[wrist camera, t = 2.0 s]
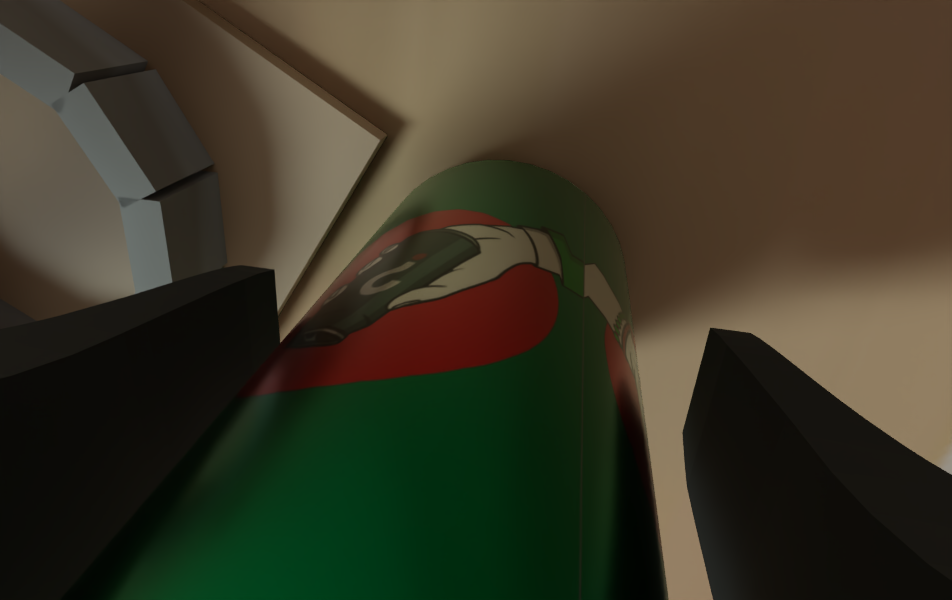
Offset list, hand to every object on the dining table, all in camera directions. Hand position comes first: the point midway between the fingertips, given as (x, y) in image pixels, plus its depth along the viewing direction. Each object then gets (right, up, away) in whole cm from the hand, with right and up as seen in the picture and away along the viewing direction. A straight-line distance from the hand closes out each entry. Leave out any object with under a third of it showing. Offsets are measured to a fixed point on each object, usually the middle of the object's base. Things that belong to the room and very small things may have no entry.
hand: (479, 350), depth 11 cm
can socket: (-9, +3, +4) cm, 11 cm away
